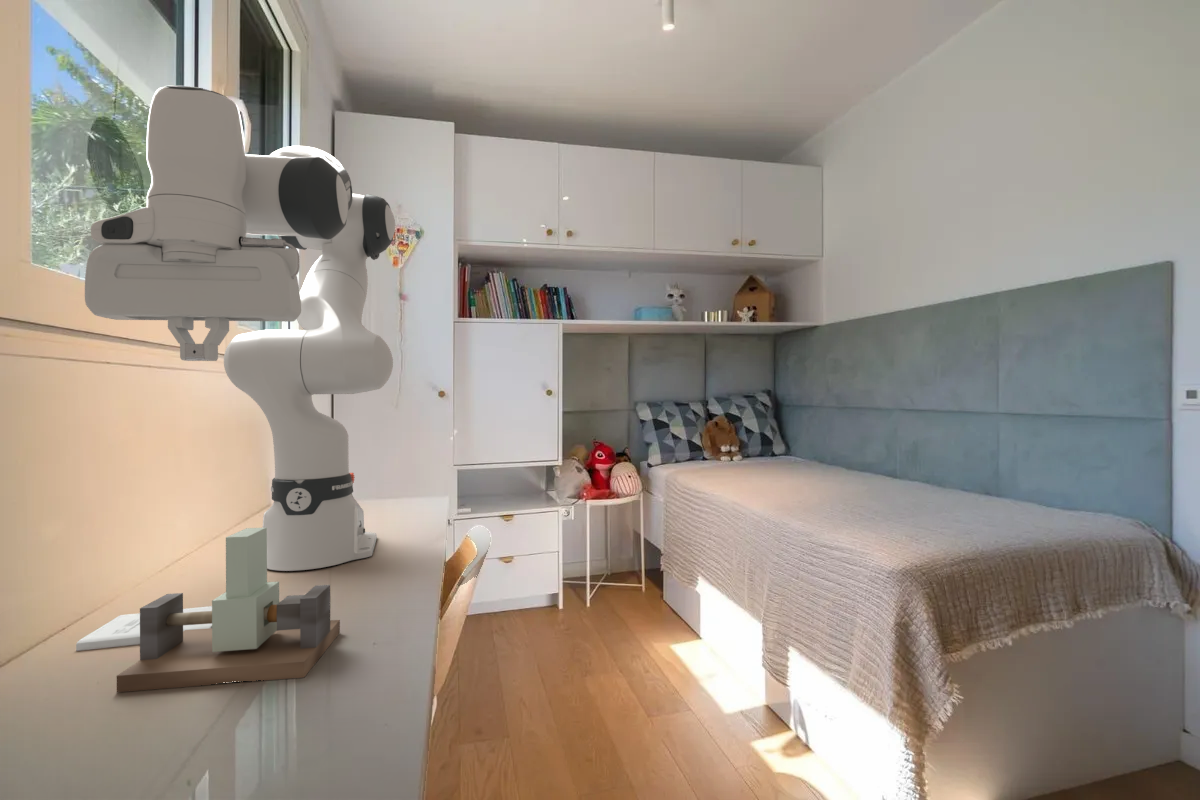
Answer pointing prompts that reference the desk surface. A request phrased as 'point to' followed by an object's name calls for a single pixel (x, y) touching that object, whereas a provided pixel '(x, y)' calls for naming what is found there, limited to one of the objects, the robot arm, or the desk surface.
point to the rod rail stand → (192, 662)
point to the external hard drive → (126, 631)
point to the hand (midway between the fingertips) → (199, 360)
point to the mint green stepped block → (244, 594)
